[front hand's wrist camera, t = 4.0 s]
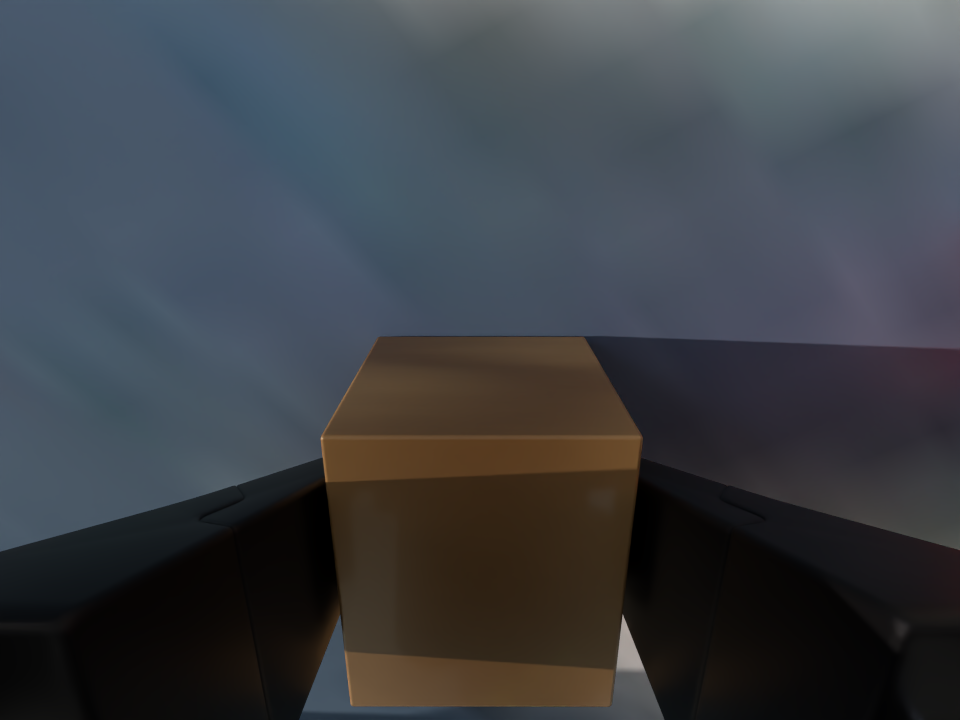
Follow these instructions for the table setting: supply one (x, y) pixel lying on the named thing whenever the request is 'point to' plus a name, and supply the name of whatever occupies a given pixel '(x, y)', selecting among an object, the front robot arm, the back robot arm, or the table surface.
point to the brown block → (481, 522)
